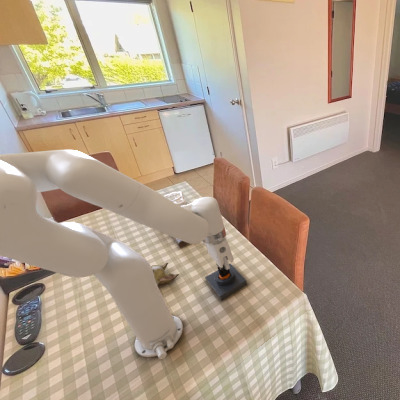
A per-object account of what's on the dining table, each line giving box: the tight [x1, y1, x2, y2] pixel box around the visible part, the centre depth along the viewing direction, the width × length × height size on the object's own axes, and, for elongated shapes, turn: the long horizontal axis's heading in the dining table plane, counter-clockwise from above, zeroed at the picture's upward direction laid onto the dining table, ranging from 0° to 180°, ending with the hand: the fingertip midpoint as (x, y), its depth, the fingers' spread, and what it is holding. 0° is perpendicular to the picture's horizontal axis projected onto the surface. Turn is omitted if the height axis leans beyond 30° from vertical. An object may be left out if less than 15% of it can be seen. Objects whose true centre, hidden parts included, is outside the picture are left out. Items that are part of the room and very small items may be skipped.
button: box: [219, 273, 230, 280], centre depth 95 cm, size 4×4×2 cm
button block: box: [205, 263, 248, 301], centre depth 96 cm, size 12×10×4 cm
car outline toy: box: [163, 190, 187, 206], centre depth 136 cm, size 20×11×7 cm, turn 137°
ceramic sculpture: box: [151, 262, 180, 286], centre depth 94 cm, size 11×9×15 cm
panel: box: [170, 236, 191, 249], centre depth 120 cm, size 14×10×3 cm
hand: (225, 273), depth 95 cm, fingers closed
